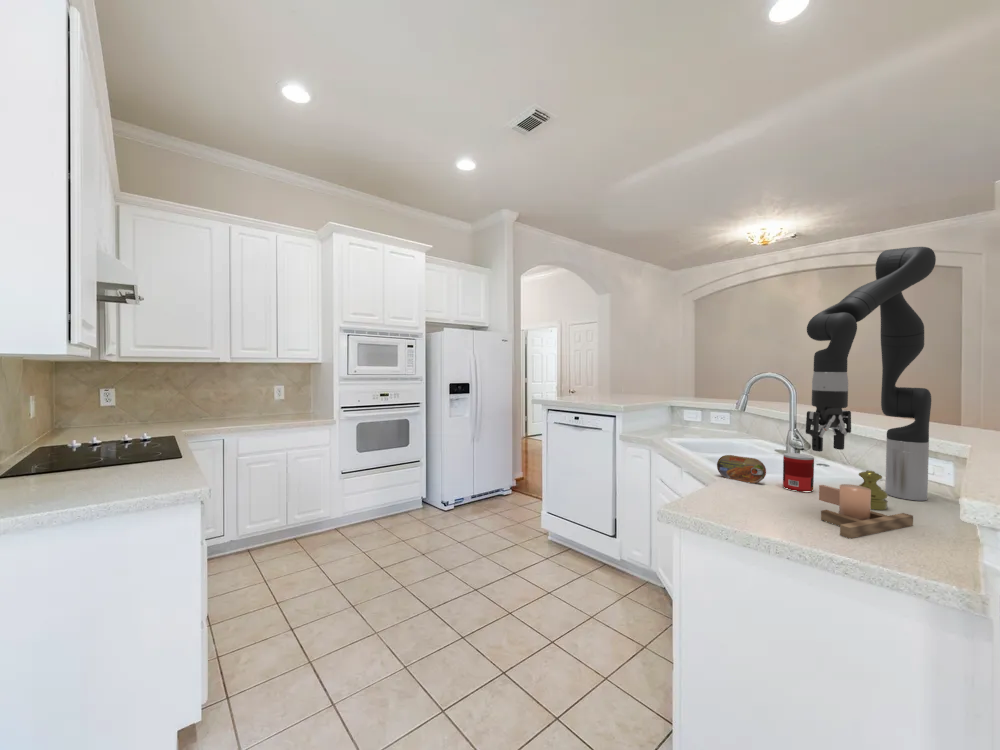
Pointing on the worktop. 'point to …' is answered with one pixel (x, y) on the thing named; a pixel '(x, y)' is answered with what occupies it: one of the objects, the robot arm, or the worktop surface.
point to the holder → (867, 523)
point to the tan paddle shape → (848, 500)
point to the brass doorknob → (874, 490)
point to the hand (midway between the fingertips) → (828, 450)
